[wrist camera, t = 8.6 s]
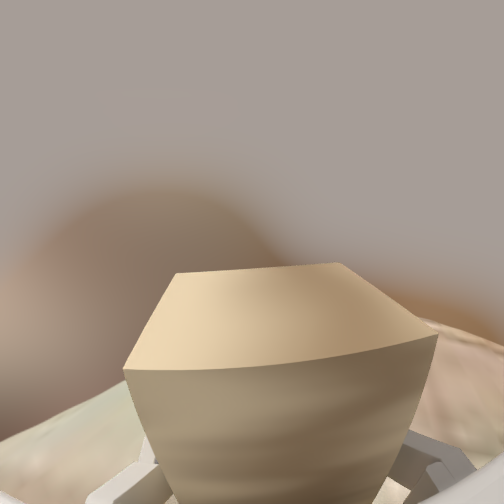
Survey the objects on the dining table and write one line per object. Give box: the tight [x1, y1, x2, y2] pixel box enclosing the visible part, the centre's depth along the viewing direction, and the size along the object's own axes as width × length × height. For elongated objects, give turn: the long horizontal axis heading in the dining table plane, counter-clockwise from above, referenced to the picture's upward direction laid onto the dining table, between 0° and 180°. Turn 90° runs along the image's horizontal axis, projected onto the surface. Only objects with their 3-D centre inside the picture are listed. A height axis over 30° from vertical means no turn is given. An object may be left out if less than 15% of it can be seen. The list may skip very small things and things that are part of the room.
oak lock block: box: [123, 262, 439, 504], centre depth 8 cm, size 5×5×12 cm
